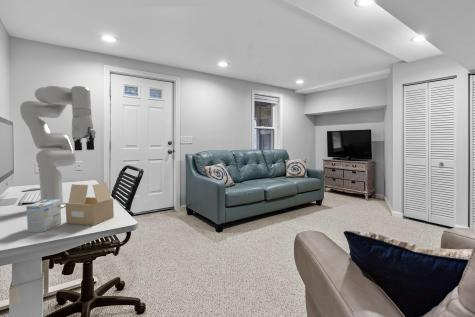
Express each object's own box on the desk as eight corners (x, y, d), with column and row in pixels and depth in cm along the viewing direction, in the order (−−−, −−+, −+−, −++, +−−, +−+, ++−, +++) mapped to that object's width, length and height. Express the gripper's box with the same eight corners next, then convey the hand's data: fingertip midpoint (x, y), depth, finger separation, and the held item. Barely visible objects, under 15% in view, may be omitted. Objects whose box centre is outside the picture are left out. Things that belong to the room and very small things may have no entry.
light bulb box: (45, 223, 106) (44, 199, 105) (62, 223, 106) (61, 198, 106) (26, 232, 95) (25, 205, 95) (45, 232, 96) (43, 205, 95)
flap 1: (69, 202, 105) (68, 202, 104) (72, 184, 106) (71, 184, 106) (84, 203, 103) (84, 203, 103) (88, 185, 105) (87, 184, 104)
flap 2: (92, 185, 104) (92, 184, 104) (105, 182, 112) (106, 182, 112) (97, 203, 104) (97, 202, 104) (110, 198, 112) (110, 198, 112)
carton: (65, 223, 106) (64, 203, 105) (88, 215, 118) (87, 196, 118) (94, 225, 103) (93, 204, 102) (114, 216, 115) (113, 198, 115)
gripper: (63, 114, 114) (65, 150, 115) (84, 110, 106) (87, 149, 107) (79, 116, 121) (82, 150, 122) (101, 112, 113) (103, 149, 114)
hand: (84, 150), depth 114 cm, fingers open, 9 cm apart
